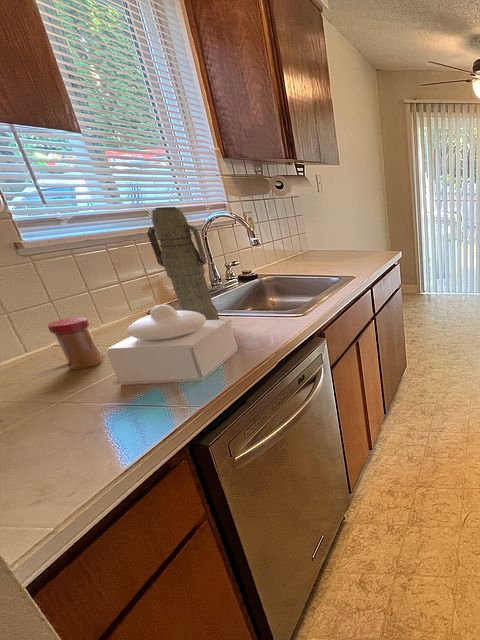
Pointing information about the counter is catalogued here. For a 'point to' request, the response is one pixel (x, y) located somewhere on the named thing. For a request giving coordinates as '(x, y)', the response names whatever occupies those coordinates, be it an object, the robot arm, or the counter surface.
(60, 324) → the lid
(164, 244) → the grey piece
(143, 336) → the butter dish
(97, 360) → the jar
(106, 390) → the counter surface
